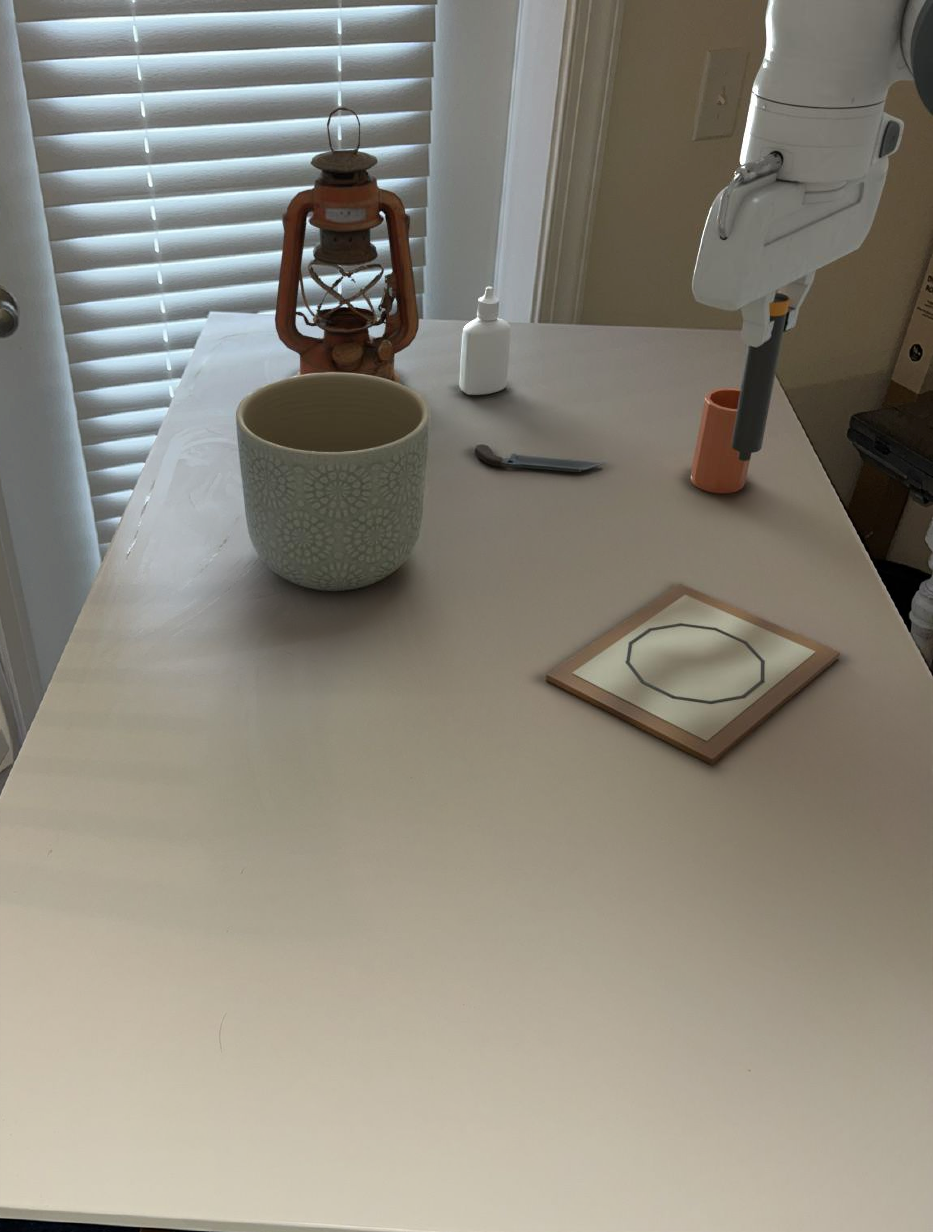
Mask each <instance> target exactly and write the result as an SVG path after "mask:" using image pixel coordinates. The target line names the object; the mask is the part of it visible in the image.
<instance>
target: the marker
mask: <svg viewBox="0 0 933 1232" xmlns="http://www.w3.org/2000/svg"><path fill="white" fill-rule="evenodd" d="M789 302H790V298H789V297H788V296H787V295H784V294H781V293H778V292H776V293H775V297H774V301H773V302H772V303H770V304H769V313H770V319H772V320H775V321H774V325H773V329H772V332H771V339H770V340H769V341H768V342H766V343H764V344H762V345H760V346H759V347H753V346H749V345H747V350H746V356H745V362H744V368H743V371H742V372H743V374H742V379H741V385H740V389H741V390H740V396H739V402H738V408H737V413H736V419H735V425H734V431H733V437H732V443H731V447H732V448H733V449H734V450H736V451H739V454H738V459H739V460H742V461H748V460H750V461H751V459H752V458H751V457H752V454H753V453H758V452H760V451H761V450H762V448H763V442H764V435H765V431H766V425H767V420H768V415H769V409H770V404H771V400H772V395H773V388H774V384H775V377H776V374H777V373H776V372H777V366H778V362H779V357H780V356H779V355H780V350H781V346H782V340H783V334H784V333H783V330H784V325H785V319H786V314H787V312H788V307H789Z"/></svg>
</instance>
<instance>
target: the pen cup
mask: <svg viewBox="0 0 933 1232" xmlns="http://www.w3.org/2000/svg"><path fill="white" fill-rule="evenodd" d="M740 390H741V388H735V387H721V388H715V389H712V390H710V391H709V392H706V394H705V397H704V401H703V406H702V412H701V417H700V423H699V428H698V433H697V439H696V444H695V448H694V453H693V454H694V455H693V461H692V465H691V471H690V476H689V479H690V480H689V481H690V482H691V484H692V485H693V486H695V487H696V488H698V489H699V490H702V491H706V492H708V493H714V494H731V493H736V492H739V491H741V490H742V489H743V488H744V487H745V484H746V480H747V475H748V472H749V468H750V467H749V466H750V462H751V459H750V460H748V461H742V460H739V459H738V454H739V451H736V450H734V449H733V448H732V447H731V443H732V437H733V431H734V425H735V419H736V413H737V408H738V402H739V396H740Z"/></svg>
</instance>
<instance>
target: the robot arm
mask: <svg viewBox="0 0 933 1232" xmlns="http://www.w3.org/2000/svg"><path fill="white" fill-rule="evenodd" d="M764 19H765V22H764V23H765V32H766V35H765V36H766V43H765V51H764V56H763V59H762V62H761V65H760V66H759V70H758V71H757V74H756V76H755V79H754V81H753V85H752V88H751V89H752V90H751V95H750V101H749V107H748V113H747V118H746V123H745V128H744V134H743V140H742V144H741V151H740V156H739V163H740V166H739V167H738V168H736V170H735V172H734V176H733V178H732V179H731V181H730V182H729V184H728V185H727V186H725V188H723V189H721V190H720V192H719V193H718V194H717V195H716V196H715V198H714V200H713V202H712V204H711V207H710V209H709V211H708V216H707V218H706V221H705V224H704V229H703V232H702V236H701V240H700V245H699V249H698V253H697V258H696V262H695V266H694V271H693V275H692V280H691V281H692V282H691V290H692V294H693V297H694V300H695V301H696V302H697V303H699V304H701V305H705V306H709V307H711V308H715V309H718V310H722V311H726V312H736V311H739V310H740V312H741V317H742V320H743V322H742V326H741V333H740V341H741V343H742V344H743V345H746V346H748V345H749V346H753V347H759V346H760V345H762V344H764V343H766V342H768V341H769V340H770V339H771V332H772V329H773V325H774V321H775V320H772V319H770V313H769V304H770V303H772V302H773V301H774V297H775V293H781V294H784V295H787V296H788V297H789V298H790V302H789V307H788V312H787V314H786V319H785V325H784V330H783V334H784V333H786V332H788V331H790V330H792V329H794V327H795V326H796V324H797V320H798V316H799V312H800V308H801V306H802V305H803V302H804V300H805V299H806V297H807V294H808V292H809V291H810V289H811V287H812V285H813V283H814V281H815V276H816V271H817V270H819V269H821V268H824V267H825V266H828V265H829V264H831V263H833V262H835V261H837V260H839V259H841V258H843V257H845V256H847V255H849V254H851V253H852V252H855V251H857V250H858V249H859V248H861V246H862V245H863V243H864V241H865V240H866V238H867V236H868V234H869V232H870V230H871V228H872V226H873V224H874V223H873V222H874V220H875V217H876V214H877V210H878V207H879V204H880V200H881V197H882V194H883V190H884V186H885V183H886V180H887V175H888V171H889V164H890V163H889V162H890V161H889V156H892V155H893V154H895V153H896V152H897V151H898V149H899V148H900V144H901V141H902V138H903V134H904V130H905V123H904V121H903V120H902V119H900V118H898V117H895V116H893V115H891V114H889V113H887V112H886V111H884V108H885V105H886V100H887V96H888V93H889V89H890V88H891V86H892V85H894V84H895V83H897V82H899V81H909V82H910V81H912V82H914V85H915V89H916V91H917V94H918V96H919V99H920V101H921V102H922V104H923V106H924V108H926V110H927V112H929V113H930V115H931V116H932V117H933V0H767V5H766V11H765V18H764Z"/></svg>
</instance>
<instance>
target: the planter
mask: <svg viewBox="0 0 933 1232" xmlns="http://www.w3.org/2000/svg"><path fill="white" fill-rule="evenodd" d="M235 423H236V436H237V437H236V438H237V446H238V457H239V467H240V474H241V484H242V492H243V493H242V494H243V503H244V514H245V519H246V526H247V532H248V535H249V538H250V539H249V540H250V541H251V544H252V547H253V549H254V551H255V552H256V554H257V556H258V557H259V558H260V560H261V561H262V562H263V563H264V564H265V565H266V566H267V567H268V568H269V570H272V571H273V572H274V573H275V574H276V575H278V576H280V577H281V578H283V579H285V580H287V581H288V582H291V583H292V584H295V585H297V586H300V587H303V588H308V589H311V590H316V591H327V592H342V591H351V590H357V589H360V588H361V589H362V588H365V587H367V586H370V585H373V584H376V583H378V582H380V581H381V580H383V579H385V578H387V577H388V576H390V575H391V574H392V573H394V572H395V571H397V570H398V569H399V568H401V566H402V565H403V564H404V563H405V562H406V561H407V560H408V559H409V557H410V556H411V554H412V553H413V551H414V549H415V547H416V544H417V542H418V539H419V536H420V532H421V529H422V528H421V527H422V521H423V514H424V500H425V499H424V498H425V487H426V485H425V484H426V474H427V462H428V461H427V460H428V449H429V435H430V409H429V406H428V404H427V402H426V401H425V399H424V398H423V397H422V396H421V395H420V394H419V393H417V392H416V391H414V390H413V389H411V388H409V387H408V386H406V385H404V384H401V383H400V384H399V383H397V382H394V381H391V380H388V379H384V378H380V377H376V376H370V375H364V374H355V373H314V374H305V375H299V376H296V375H294V376H290V377H289V376H288V377H285V378H282V379H277V380H275V381H272V382H269V383H267V384H264V385H262V386H260V387H258V388H256V389H255V390H253V391H251V392H250V393H248V394H247V395H246V396H245V397H243V399H242V400H241V401H240V403H239V404H238V406H237V409H236V412H235Z"/></svg>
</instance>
